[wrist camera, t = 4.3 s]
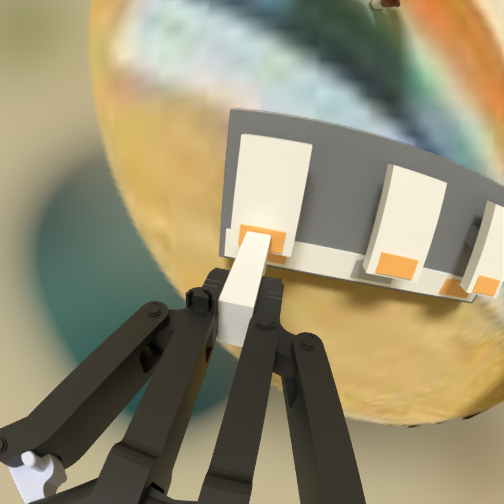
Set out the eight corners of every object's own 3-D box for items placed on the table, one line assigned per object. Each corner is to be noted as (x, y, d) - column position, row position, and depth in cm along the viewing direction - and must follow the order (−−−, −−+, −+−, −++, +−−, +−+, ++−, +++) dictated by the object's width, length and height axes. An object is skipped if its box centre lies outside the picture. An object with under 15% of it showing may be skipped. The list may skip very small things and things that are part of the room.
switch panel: (510, 189, 16) (531, 204, 13) (465, 290, 22) (477, 313, 19) (237, 108, 18) (224, 109, 15) (225, 244, 24) (213, 266, 21)
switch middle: (438, 180, 15) (448, 183, 13) (411, 275, 17) (417, 283, 16) (387, 163, 15) (394, 165, 14) (362, 265, 18) (366, 273, 17)
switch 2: (515, 214, 14) (525, 218, 13) (489, 291, 17) (496, 299, 15) (487, 200, 14) (497, 204, 13) (459, 285, 17) (467, 293, 16)
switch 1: (311, 144, 15) (312, 146, 14) (291, 248, 18) (290, 258, 17) (245, 133, 16) (240, 134, 14) (233, 237, 19) (228, 246, 18)
